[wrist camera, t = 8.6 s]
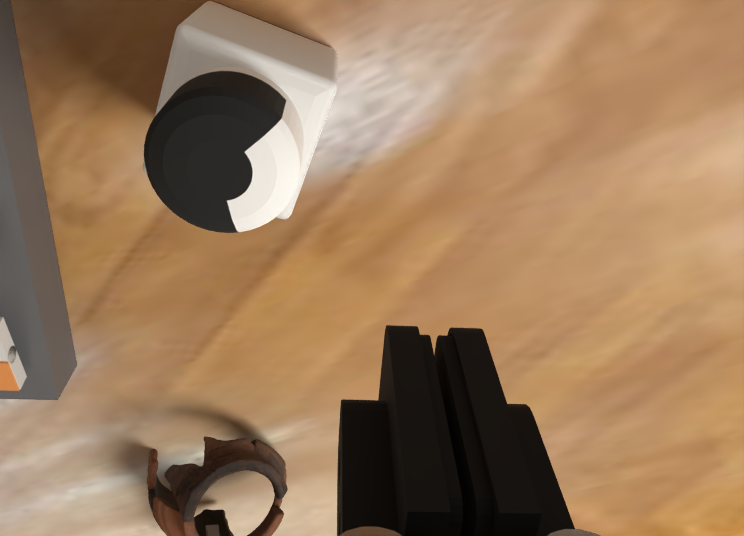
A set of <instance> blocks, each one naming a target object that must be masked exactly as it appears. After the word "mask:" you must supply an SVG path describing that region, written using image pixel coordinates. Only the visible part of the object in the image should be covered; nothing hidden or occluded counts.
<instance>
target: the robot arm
mask: <svg viewBox="0 0 744 536" xmlns="http://www.w3.org/2000/svg"><path fill="white" fill-rule="evenodd" d="M337 536H600V535H598V534H595V533H592V532H588V531H584V530H581V529H575V528H574V525H573V522H572V520H571V517H570V514H569V512H568V509H567V506H566V503H565V501H564V498H563V495H562V492H561V490H560V487H559V484H558V481H557V479H556V476H555V473H554V471H553V468H552V465H551V462H550V460H549V457H548V454H547V451H546V449H545V446H544V443H543V441H542V438H541V435H540V432H539V430H538V427H537V424H536V421H535V419H534V416H533V413H532V411H531V409H530V407H528V406H527V405H526V404H507V402H506V399H505V396H504V393H503V390H502V387H501V384H500V380H499V377H498V374H497V371H496V368H495V365H494V362H493V359H492V356H491V353H490V350H489V346H488V343H487V340H486V337H485V334H484V332H483V330H482V329H477V328H450V329H449V332H448V336H441V335H439V336H438V337H437V341H436V348H435V355H434V353H433V348H432V343H431V338H430V336H429V335H420V334H419V329H418V327H417V326H389V325H387V326H386V329H385V337H384V347H383V358H382V368H381V379H380V389H379V400H378V401H375V400H341V409H340V425H339V445H338V482H337Z"/></svg>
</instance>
